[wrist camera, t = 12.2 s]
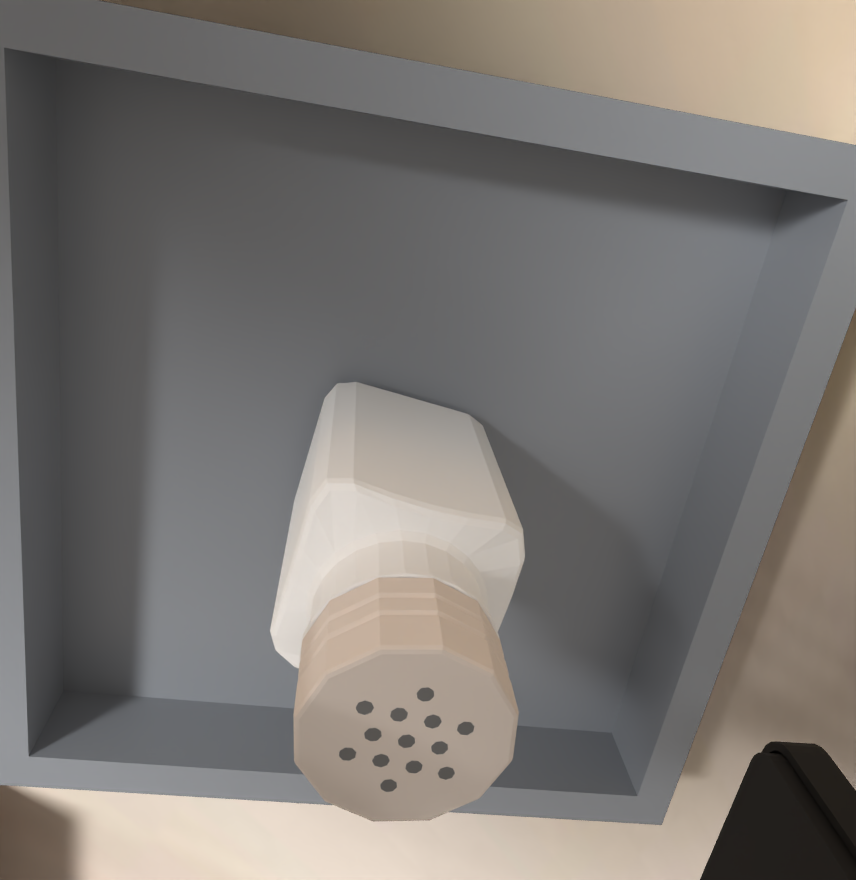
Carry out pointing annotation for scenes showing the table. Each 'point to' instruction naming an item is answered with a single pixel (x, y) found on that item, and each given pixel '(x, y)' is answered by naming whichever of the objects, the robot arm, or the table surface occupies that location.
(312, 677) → the salt shaker
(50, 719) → the tray
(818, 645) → the table surface
